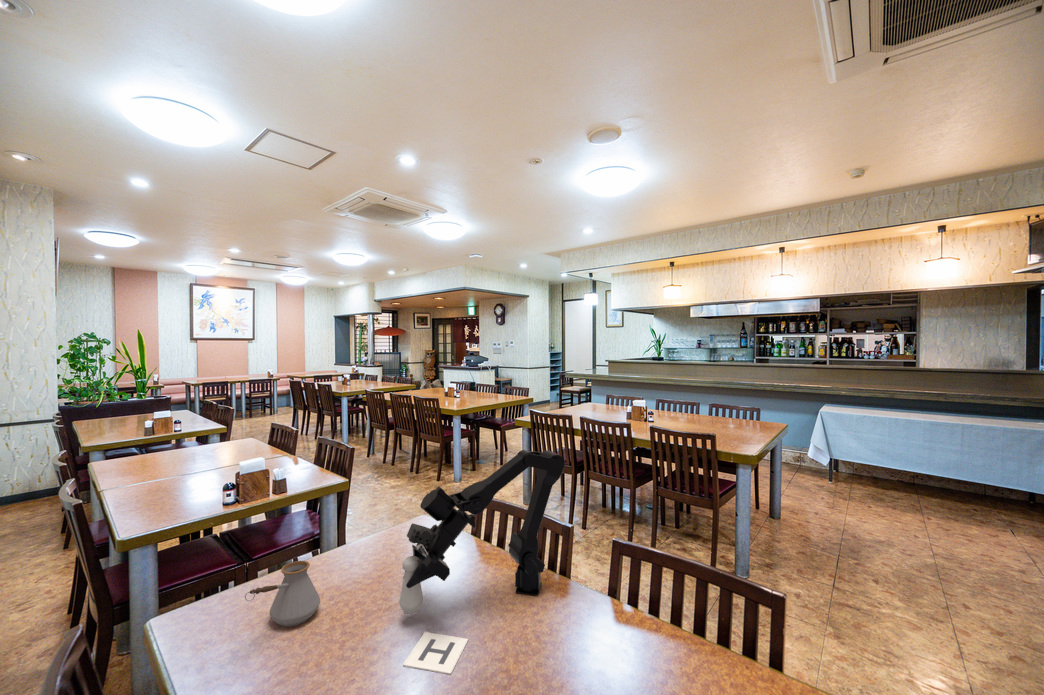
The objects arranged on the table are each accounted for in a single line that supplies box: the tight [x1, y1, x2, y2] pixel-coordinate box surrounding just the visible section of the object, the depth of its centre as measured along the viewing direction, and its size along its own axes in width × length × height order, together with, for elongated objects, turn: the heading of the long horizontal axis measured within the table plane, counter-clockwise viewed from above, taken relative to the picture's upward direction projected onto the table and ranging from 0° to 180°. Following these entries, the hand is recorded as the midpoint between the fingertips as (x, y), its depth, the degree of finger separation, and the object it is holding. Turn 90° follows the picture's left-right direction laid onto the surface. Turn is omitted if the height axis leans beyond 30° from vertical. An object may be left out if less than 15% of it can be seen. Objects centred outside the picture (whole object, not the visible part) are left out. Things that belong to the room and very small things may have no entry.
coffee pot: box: [244, 560, 321, 627], centre depth 105 cm, size 21×12×15 cm, turn 171°
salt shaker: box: [399, 555, 424, 616], centre depth 109 cm, size 6×6×13 cm
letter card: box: [402, 631, 469, 675], centre depth 98 cm, size 11×11×1 cm
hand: (405, 583), depth 108 cm, fingers closed on salt shaker, 3 cm apart
